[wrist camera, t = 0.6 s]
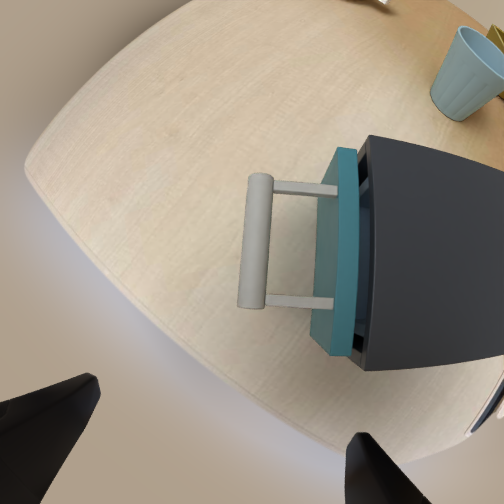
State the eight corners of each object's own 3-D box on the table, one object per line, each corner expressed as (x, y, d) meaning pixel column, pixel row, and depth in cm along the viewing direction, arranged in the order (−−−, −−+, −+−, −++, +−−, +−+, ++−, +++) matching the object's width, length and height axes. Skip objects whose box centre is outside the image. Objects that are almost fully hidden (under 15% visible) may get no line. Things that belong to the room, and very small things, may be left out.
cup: (477, 138, 23) (526, 95, 12) (427, 116, 23) (472, 58, 13) (465, 93, 24) (502, 47, 13) (418, 71, 24) (449, 15, 14)
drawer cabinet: (327, 341, 21) (364, 371, 12) (335, 188, 23) (368, 134, 14) (466, 337, 20) (530, 348, 11) (467, 209, 22) (525, 180, 13)
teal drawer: (244, 330, 21) (232, 351, 13) (256, 184, 22) (251, 136, 15) (452, 333, 19) (506, 343, 12) (453, 208, 21) (502, 182, 14)
